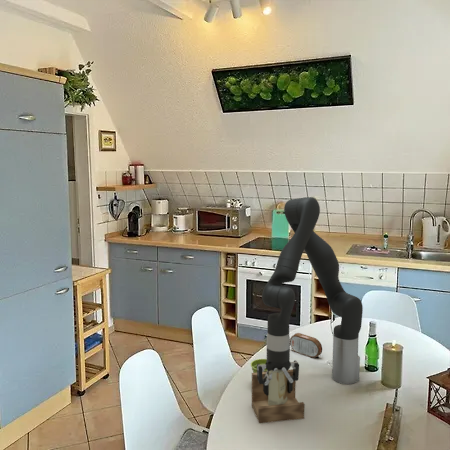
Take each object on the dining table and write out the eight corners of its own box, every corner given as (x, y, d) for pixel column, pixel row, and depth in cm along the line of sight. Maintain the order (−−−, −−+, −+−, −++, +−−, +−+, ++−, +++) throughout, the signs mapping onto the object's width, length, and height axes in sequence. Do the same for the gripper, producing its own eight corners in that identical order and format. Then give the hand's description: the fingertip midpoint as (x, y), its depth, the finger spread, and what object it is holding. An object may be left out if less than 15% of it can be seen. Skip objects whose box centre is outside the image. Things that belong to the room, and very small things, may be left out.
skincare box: (279, 409, 150) (280, 373, 148) (267, 405, 152) (267, 370, 150) (287, 400, 155) (288, 365, 153) (276, 396, 157) (276, 362, 155)
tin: (322, 358, 195) (323, 339, 194) (318, 360, 193) (319, 341, 192) (292, 348, 205) (293, 330, 204) (288, 350, 203) (288, 332, 202)
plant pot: (274, 393, 166) (275, 371, 165) (248, 391, 168) (248, 368, 167) (277, 381, 175) (277, 359, 174) (252, 379, 177) (252, 357, 176)
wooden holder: (293, 401, 160) (294, 369, 159) (304, 418, 150) (304, 383, 148) (251, 406, 158) (251, 372, 156) (259, 423, 148) (259, 387, 146)
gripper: (295, 339, 155) (294, 385, 158) (253, 343, 153) (253, 389, 155) (303, 348, 148) (302, 396, 151) (259, 352, 146) (259, 401, 148)
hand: (277, 393), depth 153 cm, fingers closed on skincare box, 7 cm apart
